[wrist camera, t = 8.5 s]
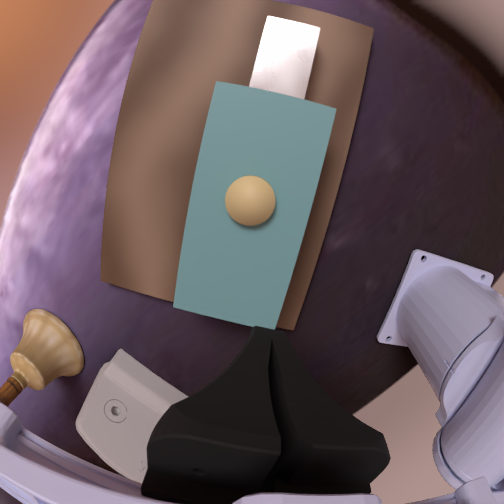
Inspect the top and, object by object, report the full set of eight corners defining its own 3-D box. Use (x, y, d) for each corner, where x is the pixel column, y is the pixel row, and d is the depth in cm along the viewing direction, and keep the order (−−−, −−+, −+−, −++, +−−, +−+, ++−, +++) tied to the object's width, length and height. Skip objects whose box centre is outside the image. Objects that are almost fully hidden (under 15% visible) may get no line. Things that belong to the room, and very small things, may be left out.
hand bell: (74, 385, 27) (7, 488, 12) (21, 340, 26) (-60, 424, 11) (94, 346, 25) (3, 471, 10) (32, 292, 23) (-78, 384, 8)
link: (278, 229, 19) (279, 238, 17) (215, 215, 19) (209, 222, 17) (323, 41, 15) (329, 30, 13) (259, 27, 15) (258, 14, 13)
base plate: (369, 33, 15) (373, 28, 14) (292, 323, 22) (293, 330, 21) (160, -3, 15) (156, -8, 14) (106, 275, 22) (100, 280, 21)
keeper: (323, 117, 17) (338, 107, 13) (273, 301, 21) (274, 336, 17) (226, 94, 17) (214, 78, 13) (189, 280, 21) (170, 311, 17)
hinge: (257, 436, 27) (227, 519, 19) (232, 440, 30) (203, 513, 22) (117, 345, 24) (58, 431, 16) (106, 359, 27) (56, 432, 19)
